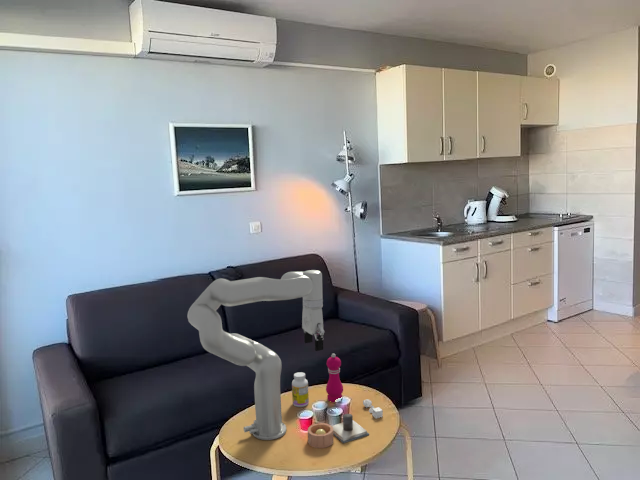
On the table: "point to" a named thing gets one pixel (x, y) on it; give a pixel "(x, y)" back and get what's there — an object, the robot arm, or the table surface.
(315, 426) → the bowl
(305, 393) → the supplement bottle
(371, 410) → the game pieces
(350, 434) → the lid
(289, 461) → the table surface
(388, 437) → the table surface
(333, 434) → the mat
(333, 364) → the pepper mill
